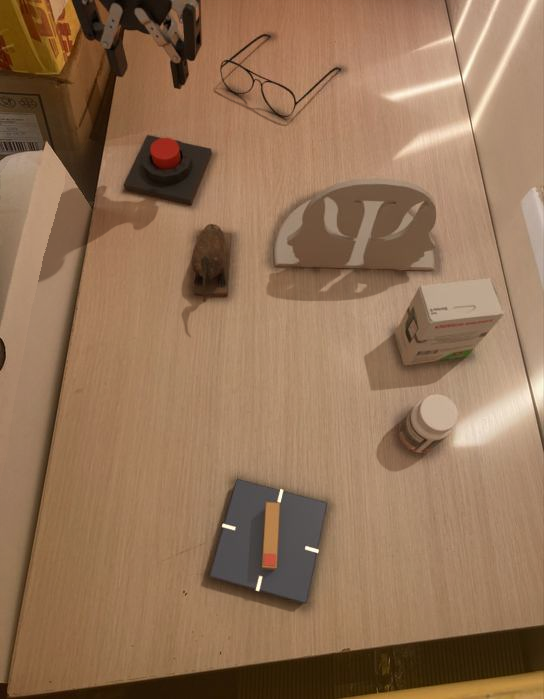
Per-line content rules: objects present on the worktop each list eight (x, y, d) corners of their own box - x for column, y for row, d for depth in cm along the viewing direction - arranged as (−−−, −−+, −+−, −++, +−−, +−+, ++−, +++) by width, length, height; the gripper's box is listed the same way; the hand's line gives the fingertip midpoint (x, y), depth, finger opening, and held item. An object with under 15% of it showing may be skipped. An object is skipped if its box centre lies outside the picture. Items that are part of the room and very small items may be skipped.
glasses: (218, 86, 87) (218, 56, 82) (268, 46, 94) (271, 16, 89) (293, 123, 84) (297, 94, 79) (339, 79, 91) (345, 50, 86)
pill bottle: (438, 417, 64) (462, 393, 57) (437, 456, 62) (462, 436, 55) (398, 411, 65) (417, 387, 57) (396, 450, 63) (416, 429, 55)
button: (148, 166, 76) (146, 155, 74) (158, 146, 78) (155, 135, 76) (175, 172, 76) (173, 161, 74) (184, 151, 77) (182, 140, 75)
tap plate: (210, 578, 56) (207, 577, 53) (236, 482, 60) (235, 477, 58) (304, 604, 55) (307, 605, 53) (325, 506, 60) (328, 501, 57)
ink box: (457, 323, 70) (494, 274, 59) (468, 358, 68) (508, 314, 57) (393, 331, 69) (418, 283, 58) (402, 367, 67) (430, 323, 56)
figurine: (226, 325, 69) (222, 290, 61) (190, 324, 69) (182, 288, 61) (231, 235, 75) (228, 192, 67) (198, 234, 74) (192, 191, 67)
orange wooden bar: (265, 507, 56) (265, 501, 53) (278, 508, 56) (280, 502, 53) (261, 569, 54) (261, 567, 50) (275, 570, 54) (276, 568, 50)
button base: (124, 190, 77) (120, 175, 75) (148, 140, 81) (144, 124, 79) (191, 205, 76) (189, 191, 74) (211, 154, 81) (210, 139, 78)
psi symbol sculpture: (273, 267, 73) (278, 181, 57) (274, 190, 78) (279, 92, 63) (435, 272, 73) (482, 187, 58) (424, 195, 79) (465, 99, 63)
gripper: (206, -88, 51) (217, 69, 66) (62, -114, 52) (106, 46, 67) (180, -42, 47) (198, 112, 63) (28, -71, 49) (82, 87, 64)
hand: (150, 78), depth 65 cm, fingers open, 6 cm apart
